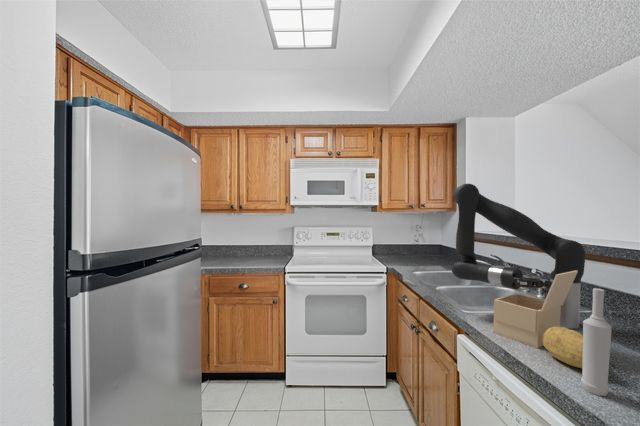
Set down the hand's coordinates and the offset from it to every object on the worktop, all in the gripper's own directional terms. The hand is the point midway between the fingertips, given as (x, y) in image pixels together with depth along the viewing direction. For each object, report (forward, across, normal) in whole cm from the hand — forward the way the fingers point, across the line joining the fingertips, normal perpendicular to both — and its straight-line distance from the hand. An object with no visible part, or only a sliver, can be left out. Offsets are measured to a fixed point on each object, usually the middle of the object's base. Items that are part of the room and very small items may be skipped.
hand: (559, 286), depth 99 cm
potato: (+6, -10, +20) cm, 24 cm away
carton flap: (0, 0, +1) cm, 1 cm away
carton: (-10, 0, +19) cm, 22 cm away
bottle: (+15, -21, +20) cm, 33 cm away
